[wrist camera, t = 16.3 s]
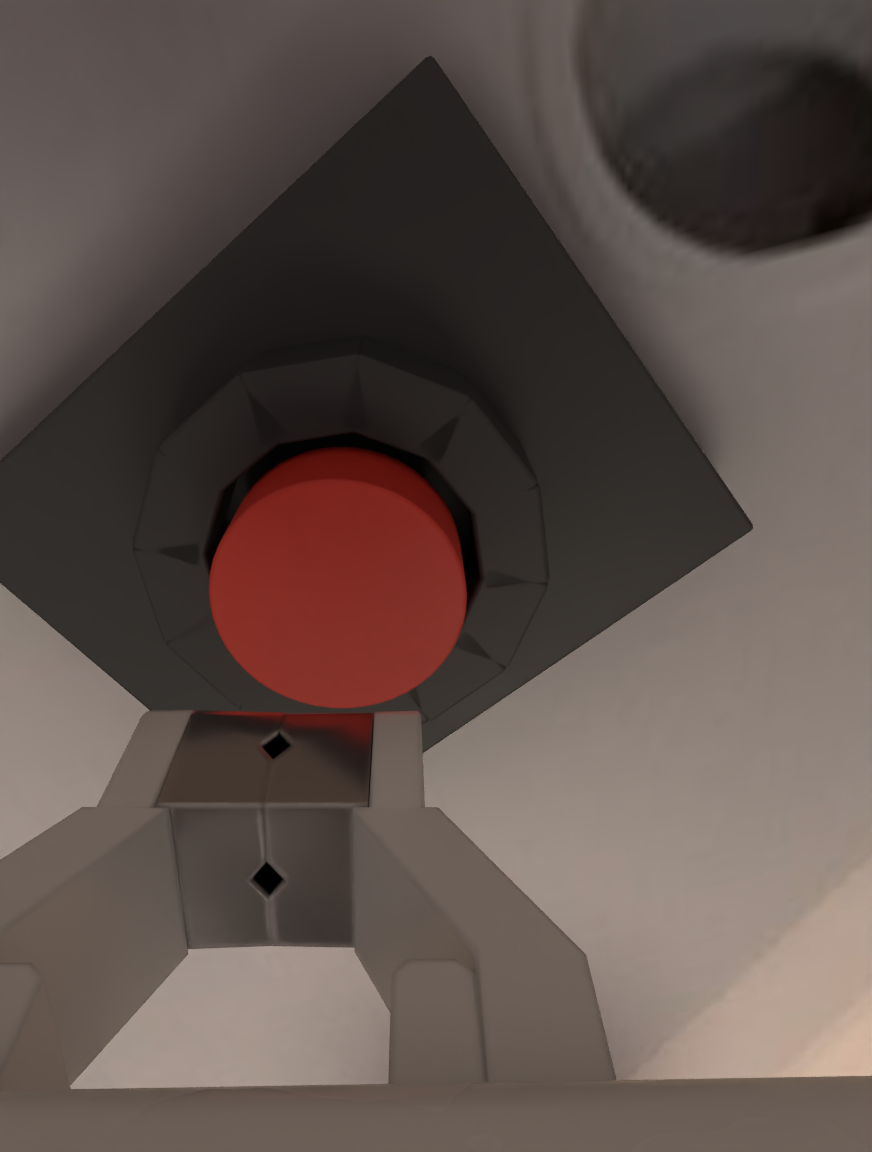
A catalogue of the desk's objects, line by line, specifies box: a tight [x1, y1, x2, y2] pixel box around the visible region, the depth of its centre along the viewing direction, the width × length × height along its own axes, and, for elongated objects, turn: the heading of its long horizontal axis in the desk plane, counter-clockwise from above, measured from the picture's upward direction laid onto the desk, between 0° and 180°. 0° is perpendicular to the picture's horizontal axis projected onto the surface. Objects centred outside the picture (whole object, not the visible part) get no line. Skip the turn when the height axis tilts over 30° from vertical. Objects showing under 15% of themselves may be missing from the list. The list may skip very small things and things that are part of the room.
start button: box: [209, 447, 467, 708], centre depth 13 cm, size 4×4×2 cm
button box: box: [0, 56, 753, 753], centre depth 16 cm, size 12×10×4 cm
